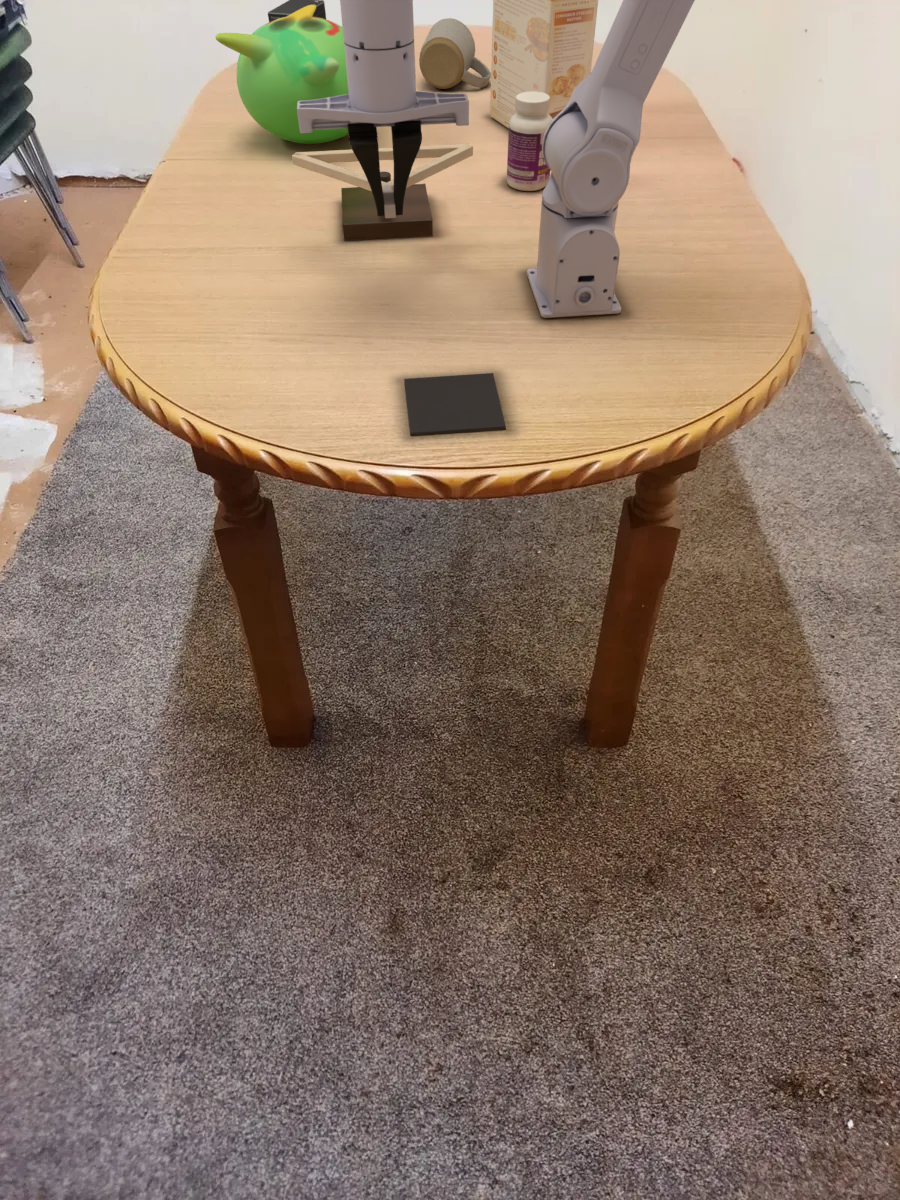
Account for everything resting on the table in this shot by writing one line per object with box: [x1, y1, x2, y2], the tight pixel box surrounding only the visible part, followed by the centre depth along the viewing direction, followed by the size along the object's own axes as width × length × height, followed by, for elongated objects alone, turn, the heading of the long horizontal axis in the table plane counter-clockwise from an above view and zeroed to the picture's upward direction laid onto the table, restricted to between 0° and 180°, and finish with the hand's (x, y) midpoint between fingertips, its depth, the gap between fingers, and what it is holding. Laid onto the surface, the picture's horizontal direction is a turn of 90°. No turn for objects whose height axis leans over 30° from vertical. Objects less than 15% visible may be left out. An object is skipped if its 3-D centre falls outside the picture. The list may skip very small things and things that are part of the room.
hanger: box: [291, 143, 474, 218], centre depth 80 cm, size 19×15×1 cm
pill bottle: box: [506, 91, 553, 192], centre depth 99 cm, size 5×5×10 cm
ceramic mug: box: [418, 17, 491, 90], centre depth 125 cm, size 11×8×8 cm
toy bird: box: [215, 5, 349, 145], centre depth 107 cm, size 18×17×15 cm
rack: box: [340, 171, 434, 242], centre depth 94 cm, size 10×10×5 cm
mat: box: [404, 372, 507, 436], centre depth 71 cm, size 8×8×1 cm
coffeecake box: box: [489, 0, 599, 129], centre depth 107 cm, size 15×7×20 cm, turn 25°
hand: (389, 211), depth 77 cm, fingers closed on hanger, 1 cm apart
